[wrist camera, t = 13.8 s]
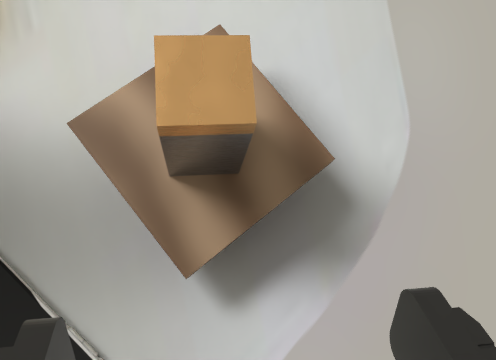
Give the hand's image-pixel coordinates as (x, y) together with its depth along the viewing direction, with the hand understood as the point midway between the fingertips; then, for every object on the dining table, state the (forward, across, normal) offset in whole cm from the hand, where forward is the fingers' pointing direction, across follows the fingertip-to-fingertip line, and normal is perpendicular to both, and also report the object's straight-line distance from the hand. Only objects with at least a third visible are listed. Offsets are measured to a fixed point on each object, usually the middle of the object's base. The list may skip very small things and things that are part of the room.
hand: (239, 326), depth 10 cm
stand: (+25, 0, +9) cm, 27 cm away
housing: (+22, 0, +6) cm, 23 cm away
